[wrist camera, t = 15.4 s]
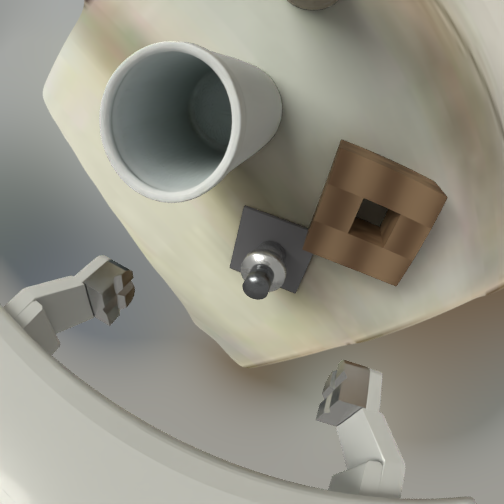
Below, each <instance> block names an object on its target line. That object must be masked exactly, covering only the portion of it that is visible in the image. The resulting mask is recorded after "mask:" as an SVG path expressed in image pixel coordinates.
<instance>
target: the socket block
mask: <svg viewBox="0 0 504 504" xmlns="http://www.w3.org/2000/svg"><path fill="white" fill-rule="evenodd" d="M363 198H365V199H367V200H369V201H372V202H374V203H376V204H379V205H381V206H383V207H385V208H388V211H387V213H386V215H385V217H384V219H383V221H382V223H381V225H380V227H379V226H377V225H374V224H372V223H370V222H367V221H365V220H362V219H360V218H358V217H356V214H357V212H358V210H359V208H360V205H361V203H362V201H363ZM446 199H447V196H446V195H445V194H444V192H443V191H442V190H441V189H440V188H439V186H438V185H437V184H436V183H435V182H434V181H432V180H431V179H429V178H427V177H425V176H423V175H421V174H419V173H417V172H415V171H413V170H411V169H409V168H407V167H405V166H403V165H400V164H398V163H396V162H394V161H392V160H390V159H387V158H385V157H383V156H381V155H378V154H376V153H374V152H371V151H369V150H367V149H364V148H362V147H359V146H357V145H354V144H352V143H349V142H347V141H344V140H341V141H340V144H339V147H338V150H337V153H336V155H335V158H334V161H333V164H332V167H331V170H330V172H329V175H328V178H327V181H326V183H325V186H324V189H323V192H322V194H321V197H320V200H319V202H318V205H317V208H316V210H315V213H314V216H313V218H312V221H311V224H310V226H309V229H308V232H307V235H306V239H305V242H304V245H303V248H302V250H305V251H307V252H310V253H312V254H315V255H318V256H320V257H323V258H325V259H328V260H331V261H333V262H336V263H338V264H341V265H343V266H346V267H349V268H351V269H354V270H356V271H359V272H361V273H364V274H366V275H369V276H371V277H374V278H376V279H379V280H381V281H384V282H386V283H389V284H391V285H394V286H397V285H398V283H399V282H400V280H401V278H402V277H403V275H404V274H405V272H406V271H407V269H408V267H409V266H410V264H411V263H412V261H413V259H414V258H415V256H416V254H417V253H418V251H419V249H420V248H421V246H422V244H423V243H424V241H425V239H426V237H427V235H428V234H429V232H430V230H431V228H432V226H433V225H434V223H435V221H436V219H437V217H438V215H439V213H440V211H441V209H442V207H443V205H444V204H445V201H446Z"/></svg>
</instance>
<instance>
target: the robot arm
mask: <svg viewBox="0 0 504 504" xmlns="http://www.w3.org/2000/svg"><path fill="white" fill-rule="evenodd" d="M132 279H133V272H132V271H131V270H129V269H127V268H126V267H124V266H122V265H120V264H118V263H117V262H115V261H113V260H111V259H109V258H108V257H106V256H104V255H100V256H98V257H97V258H95V259H94V260H93V261H92V262H91V263H89V264H88V265H87V266H86V267H84V268H83V269H82V270H81V271H80V272H79V273H78V274H77V275H75V276H74V277H72V276H68V277H64V278H60V279H57V280H53V281H49V282H45V283H42V284H38V285H34V286H30V287H27V288H24V289H23V290H21V291H20V292H19V293H18V294H17V295H16V296H15V297H14V298H13V299H12V300H10V301H9V302H8V303H7V304H6V305H5V306H4V307H2V306H1V305H0V504H476V502H475V500H474V499H473V498H472V497H456V498H455V497H454V498H439V499H401V498H400V497H401V492H402V486H403V480H404V473H405V462H404V460H403V458H402V455H401V453H400V451H399V448H398V446H397V444H396V441H395V439H394V437H393V435H392V432H391V430H390V428H389V426H388V424H387V421H386V419H385V417H384V414H383V413H381V412H380V401H381V389H382V372H380V371H377V370H373V369H370V368H368V367H365V366H362V365H359V364H355V363H352V362H349V361H346V360H342V361H341V362H340V363H339V364H338V368H337V370H336V371H333V372H332V373H331V374H330V375H329V377H328V379H327V381H326V383H325V386H324V389H323V393H322V394H323V397H324V399H325V400H324V401H322V402H321V403H320V405H319V409H318V413H317V417H316V420H317V421H320V422H324V423H327V424H330V425H333V426H337V427H336V429H337V433H338V436H339V440H340V444H341V447H342V451H343V455H344V458H345V463H346V466H347V470H346V471H343V472H340V473H338V474H335V475H334V476H332V479H331V482H330V486H329V489H328V490H324V489H320V488H315V487H310V486H306V485H302V484H298V483H294V482H290V481H286V480H282V479H279V478H275V477H272V476H268V475H265V474H262V473H259V472H256V471H253V470H250V469H247V468H244V467H242V466H239V465H236V464H233V463H230V462H228V461H226V460H223V459H221V458H218V457H216V456H213V455H211V454H209V453H206V452H204V451H202V450H199V449H197V448H195V447H193V446H191V445H188V444H186V443H184V442H182V441H180V440H178V439H176V438H174V437H172V436H170V435H168V434H167V433H165V432H163V431H161V430H159V429H157V428H155V427H154V426H152V425H150V424H148V423H146V422H145V421H143V420H141V419H140V418H138V417H136V416H135V415H133V414H131V413H130V412H128V411H126V410H125V409H123V408H122V407H120V406H119V405H117V404H115V403H114V402H112V401H111V400H109V399H108V398H106V397H105V396H104V395H102V394H101V393H99V392H98V391H96V390H95V389H94V388H92V387H91V386H90V385H88V384H87V383H85V382H84V381H83V380H81V379H80V378H79V377H78V376H76V375H75V374H74V373H72V372H71V371H70V370H69V369H67V368H66V367H65V366H64V365H63V364H61V363H60V362H59V361H57V359H55V358H54V357H53V356H52V355H53V353H54V352H55V351H56V350H57V349H58V348H59V347H60V341H59V339H58V338H57V336H56V334H57V333H59V332H61V331H64V330H66V329H68V328H71V327H73V326H75V325H78V324H80V323H82V322H85V321H87V320H90V319H92V318H94V317H96V318H97V319H99V320H101V321H102V322H104V323H106V324H107V325H109V326H110V325H111V324H112V323H113V322H114V321H115V320H116V318H117V317H118V316H119V315H120V309H124V308H126V307H127V306H128V305H129V304H130V303H131V301H132V299H133V297H134V293H135V287H134V285H133V283H132V281H131V280H132Z"/></svg>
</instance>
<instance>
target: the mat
mask: <svg viewBox="0 0 504 504" xmlns="http://www.w3.org/2000/svg"><path fill="white" fill-rule="evenodd" d="M307 232H308V228H306V227H303V226H300V225H298V224H295V223H292V222H290V221H287V220H284V219H281V218H279V217H276V216H273V215H271V214H268V213H265V212H262V211H259V210H257V209H254V208H251V207H248V206H244V209H243V213H242V217H241V221H240V225H239V230H238V234H237V238H236V242H235V247H234V251H233V255H232V260H231V264H230V268H231V269H234V270H236V271H239V272H241V264H242V262H243V261H244V259H245V257H246V255H247V254H248V253H249V252H251V251H253V250H255V249H258V248H259V246H260V245H261V244H262V243H263V242H266V241H274V242H277V243H279V244H280V245H281V246H282V247H283V248H284V250H285V253H286V257H285V260H284V261H285V263H286V266H287V275H286V278H285V280H284V283H283V285H282V286H281V287H280V288H282V289H285V290H288V291H290V292H293V293H296V291H297V289H298V287H299V284H300V282H301V280H302V278H303V276H304V273H305V271H306V269H307V267H308V264H309V262H310V260H311V257H312V255H313V254H312V253H310V252H307V251H305V250H302V248H303V245H304V242H305V239H306V235H307Z"/></svg>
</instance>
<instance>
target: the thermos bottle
mask: <svg viewBox="0 0 504 504" xmlns="http://www.w3.org/2000/svg"><path fill="white" fill-rule="evenodd" d="M287 1H288V2H290V3H291V4H293V5H295V6H297V7H299V8H302V9H307V10H320V9H325V8H328V7H330V6H332V5H333V4H335V3H336V2H337V1H338V0H287Z"/></svg>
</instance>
